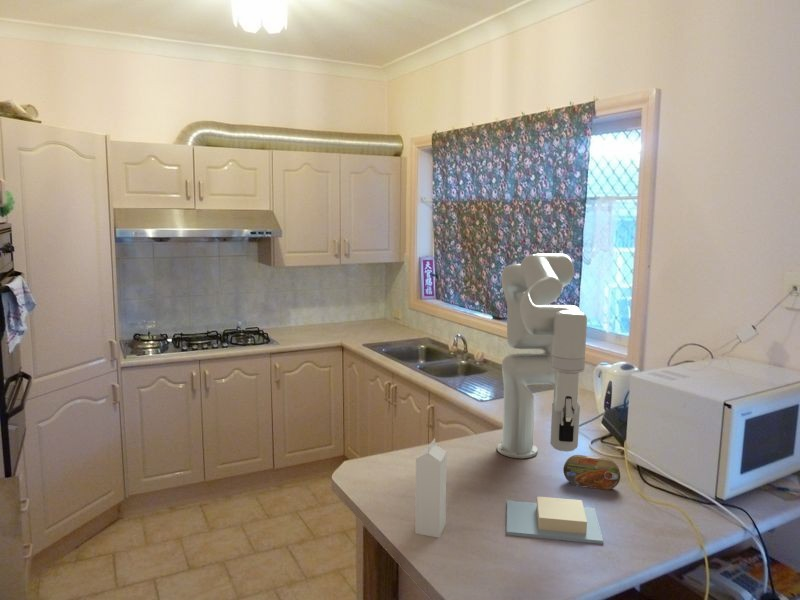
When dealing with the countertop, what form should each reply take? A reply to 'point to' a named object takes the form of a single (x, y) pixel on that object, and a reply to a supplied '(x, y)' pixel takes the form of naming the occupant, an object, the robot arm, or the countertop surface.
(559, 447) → the beverage can
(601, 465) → the tin
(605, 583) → the countertop surface
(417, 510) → the milk
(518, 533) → the board
